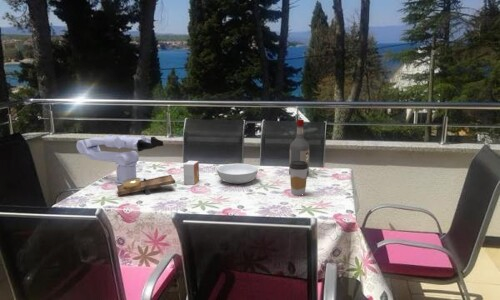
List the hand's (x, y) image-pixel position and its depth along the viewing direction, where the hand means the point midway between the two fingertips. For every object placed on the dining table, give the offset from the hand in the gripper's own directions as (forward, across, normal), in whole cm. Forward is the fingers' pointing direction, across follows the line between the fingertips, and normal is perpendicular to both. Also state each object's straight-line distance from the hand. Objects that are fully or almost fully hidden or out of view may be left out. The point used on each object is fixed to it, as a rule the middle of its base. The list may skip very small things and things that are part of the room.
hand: (157, 144), depth 206 cm
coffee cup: (+63, +22, +23) cm, 71 cm away
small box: (+8, +15, +22) cm, 27 cm away
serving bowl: (+28, +28, +22) cm, 45 cm away
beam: (-2, -7, +18) cm, 20 cm away
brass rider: (-7, -12, +18) cm, 23 cm away
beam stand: (-2, -7, +21) cm, 22 cm away
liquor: (+52, +53, +22) cm, 77 cm away
